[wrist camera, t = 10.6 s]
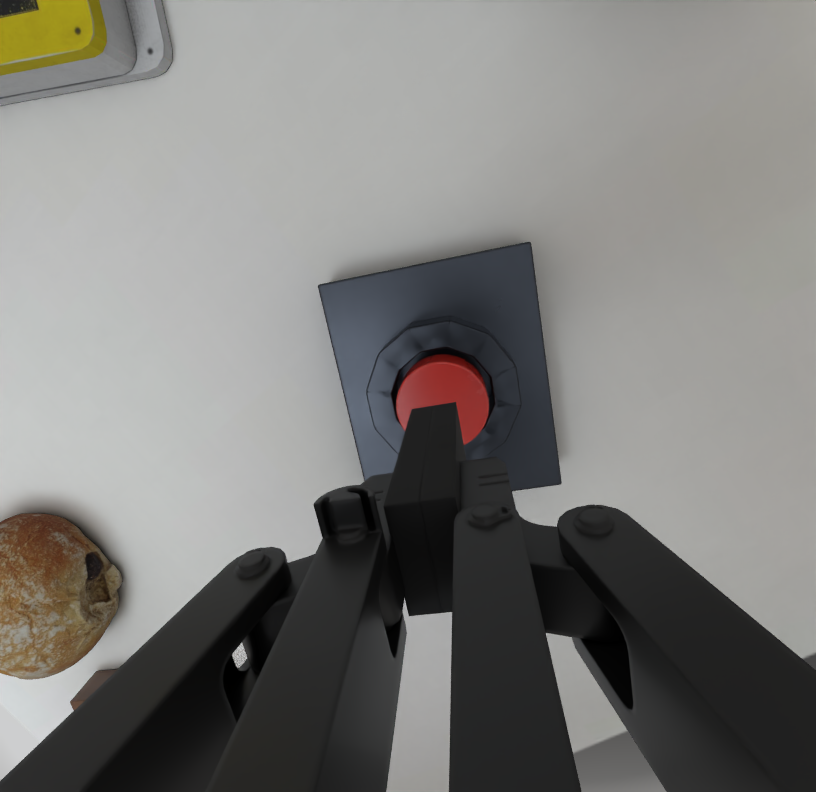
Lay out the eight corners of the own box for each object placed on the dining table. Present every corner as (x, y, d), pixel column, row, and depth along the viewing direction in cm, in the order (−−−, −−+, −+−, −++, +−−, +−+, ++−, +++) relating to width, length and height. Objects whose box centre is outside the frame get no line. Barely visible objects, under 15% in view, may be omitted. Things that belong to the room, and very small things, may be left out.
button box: (553, 467, 27) (570, 501, 23) (377, 491, 28) (365, 528, 25) (524, 242, 24) (537, 240, 20) (328, 282, 25) (306, 287, 22)
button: (493, 429, 23) (495, 443, 21) (409, 442, 24) (405, 457, 22) (479, 346, 22) (481, 354, 20) (392, 361, 23) (387, 370, 21)
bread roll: (162, 588, 36) (139, 651, 29) (18, 672, 34) (-50, 764, 26) (86, 474, 34) (39, 509, 26) (-74, 555, 32) (-176, 619, 24)
